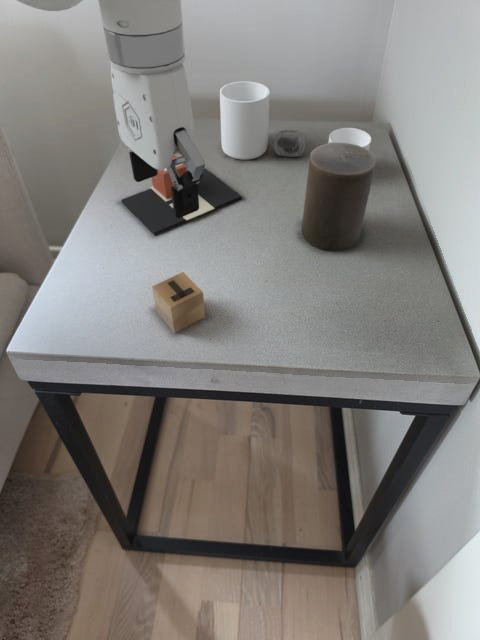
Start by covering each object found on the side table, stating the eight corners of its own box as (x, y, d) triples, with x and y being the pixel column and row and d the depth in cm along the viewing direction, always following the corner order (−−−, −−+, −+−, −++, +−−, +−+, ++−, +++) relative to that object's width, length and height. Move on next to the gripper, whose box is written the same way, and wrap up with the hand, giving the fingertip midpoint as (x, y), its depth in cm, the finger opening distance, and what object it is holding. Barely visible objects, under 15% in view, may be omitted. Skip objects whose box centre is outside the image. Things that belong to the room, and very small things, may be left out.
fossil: (272, 158, 97) (273, 135, 94) (272, 150, 100) (273, 126, 96) (304, 159, 97) (307, 135, 93) (303, 150, 99) (305, 126, 96)
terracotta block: (153, 187, 89) (149, 162, 86) (176, 178, 91) (173, 153, 87) (166, 199, 87) (163, 174, 83) (190, 190, 88) (188, 165, 85)
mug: (218, 160, 97) (216, 101, 88) (225, 131, 105) (224, 75, 96) (265, 162, 96) (268, 103, 88) (269, 133, 104) (271, 77, 96)
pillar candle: (318, 257, 77) (331, 172, 66) (291, 223, 83) (299, 140, 72) (371, 243, 79) (392, 158, 68) (341, 210, 85) (356, 128, 74)
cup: (365, 162, 96) (372, 129, 91) (363, 189, 90) (370, 156, 85) (326, 158, 97) (330, 125, 92) (321, 185, 91) (326, 151, 86)
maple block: (174, 333, 66) (170, 307, 62) (156, 311, 69) (151, 286, 65) (205, 317, 68) (203, 291, 64) (186, 297, 71) (183, 271, 67)
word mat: (155, 236, 80) (155, 233, 80) (120, 201, 87) (119, 198, 87) (242, 199, 88) (242, 196, 87) (203, 169, 95) (203, 166, 94)
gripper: (73, 28, 51) (106, 175, 63) (157, 82, 41) (176, 241, 54) (137, 15, 54) (156, 157, 66) (228, 62, 44) (231, 217, 57)
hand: (165, 194), depth 60 cm, fingers open, 9 cm apart
